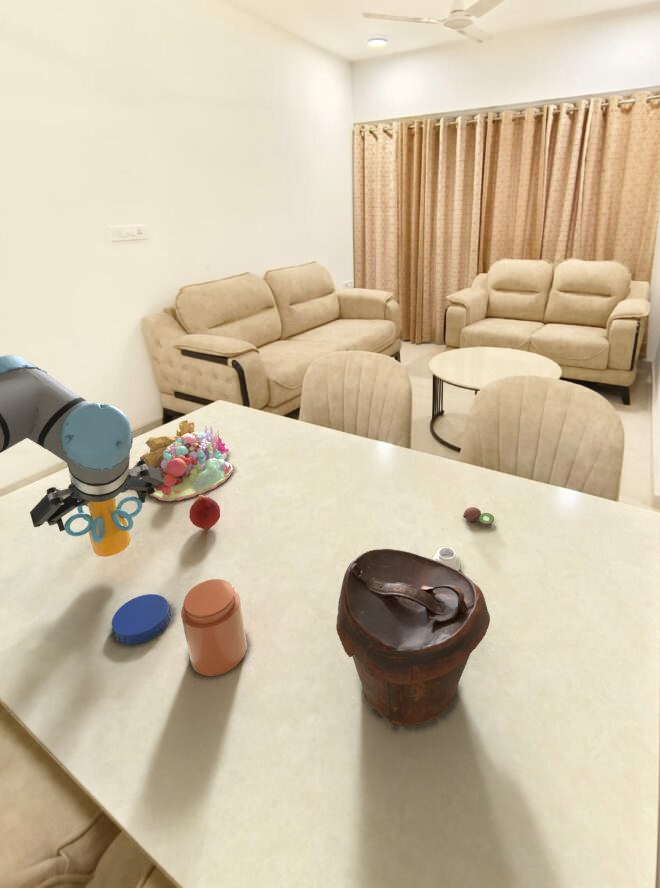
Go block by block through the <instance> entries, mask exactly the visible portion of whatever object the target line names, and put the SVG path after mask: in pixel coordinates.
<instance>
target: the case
mask: <svg viewBox="0 0 660 888" xmlns="http://www.w3.org/2000/svg"><path fill="white" fill-rule="evenodd" d="M485 598H486V597H485V595H484V593H483V591H482V590H481V588H480V586H479V585H477V584H476V583H475V582H473V581H472V580H471V579H470V577H468V576H467V575H466V574H464V573H463V572H461V571H460V570H456V569H454V568H451V567H449V566H447V565H444V564H442V563H440V562H438V561H435V560H433V558H432V559H431V558H428V557H425V556H422V555H419V554H416V553H413V552H410V551H405V550H400V549H393V548H378V549H377V548H376V549H370V550H367V551H364V552H363V553H361V554H359V555H358V556H356V558H354V560H353V561H351V562H350V563H349V565H348V567H346V571H345V572H344V575H343V579H342V583H341V588H340V593H339V598H338V605H337V615H336V625H335V628H336V633H337V635H338V638H339V640H340V643H341V646H342V648H343V650H344V652H345V654H346V655H347V656H348V657H349V658H351V657H352V660H353V663H354V665H355V666H354V667H355V669H356V672H357V676H358V677H359V680H360V683H361V687H362V690H363V694H364V696H365V698H366V699H367V701H368V702H369V704H370V706H371V707H372V708H373V709H374V710H375V712H377V713H378V714H379V715H381V716H382V717H384V718H385V719H387V720H388V721H389V722H390V723H393V724H395V725H398V726H407V725H408V726H409V725H419V724H424V723H426V722H430V721H431V720H434V719H435V718H438V717H439V716H440V715H441V714H443V713H444V712H445V711H446V710H447V709H448V708H449V706H450V705H451V704H452V702H453V700H454V697H455V693H456V690H457V688H458V686H459V683H460V681H461V678H462V676H463V674H464V670H465V668H466V665H467V663H468V661H469V659H470V656H471V654H472V653H473V651H474V650H476V649H477V647H479V644H480V643H481V642H482V641H483V639H484V637H485V636H486V634H487V631H488V629H489V626H490V623H491V615H490V612H489V610H488V605H487V602H486V599H485Z"/></svg>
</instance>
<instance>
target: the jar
mask: <svg viewBox="0 0 660 888" xmlns="http://www.w3.org/2000/svg"><path fill="white" fill-rule="evenodd" d="M183 599H184V600H183V604H182V607H181V610H180V617H181V622H182V626H183V631H184V636H185V641H186V645H187V650H188V655H189V660H190V664H191V666H192V668H193V670H194V671H195V672H197V673H198V674H200V675H203V676H208V677H214V676H220V675H222V674H225V673H228V672H230V671H231V670H233V669H235V668H236V667H237V666H238V665H240V663H241V662H242V660H243V659H244V657H245V655H246V653H247V648H248V644H247V635H246V630H245V624H244V617H243V610H242V602H241V597H240V594H239V592H238V591H237V590H236V588H235V586H233V584H232V583H230V582H229V581H227V580H225V579H220V578H214V579H213V578H212V579H208V580H204V581H202V582H200V583H198V584H196V585H194V586H193V587H192V588H191V589H190V590H189V591H188V592H187V593H186V595H185V596H184V598H183Z"/></svg>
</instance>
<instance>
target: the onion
mask: <svg viewBox="0 0 660 888" xmlns="http://www.w3.org/2000/svg"><path fill="white" fill-rule="evenodd" d="M220 517H221V508H220V505H219V504H218V502H217V501H216V500H215V499H213V498H211V497H209V496H204V494H198V498H197V499H196V500H194V502H193V503H192V505H191V506H190V508H189V520H190V523H192V525H194V526H195V527H197V528H198V529H201V530H209V529H211V528H212V527H214V526H215V525H216V524H217V523H218V521H219V520H220Z"/></svg>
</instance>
